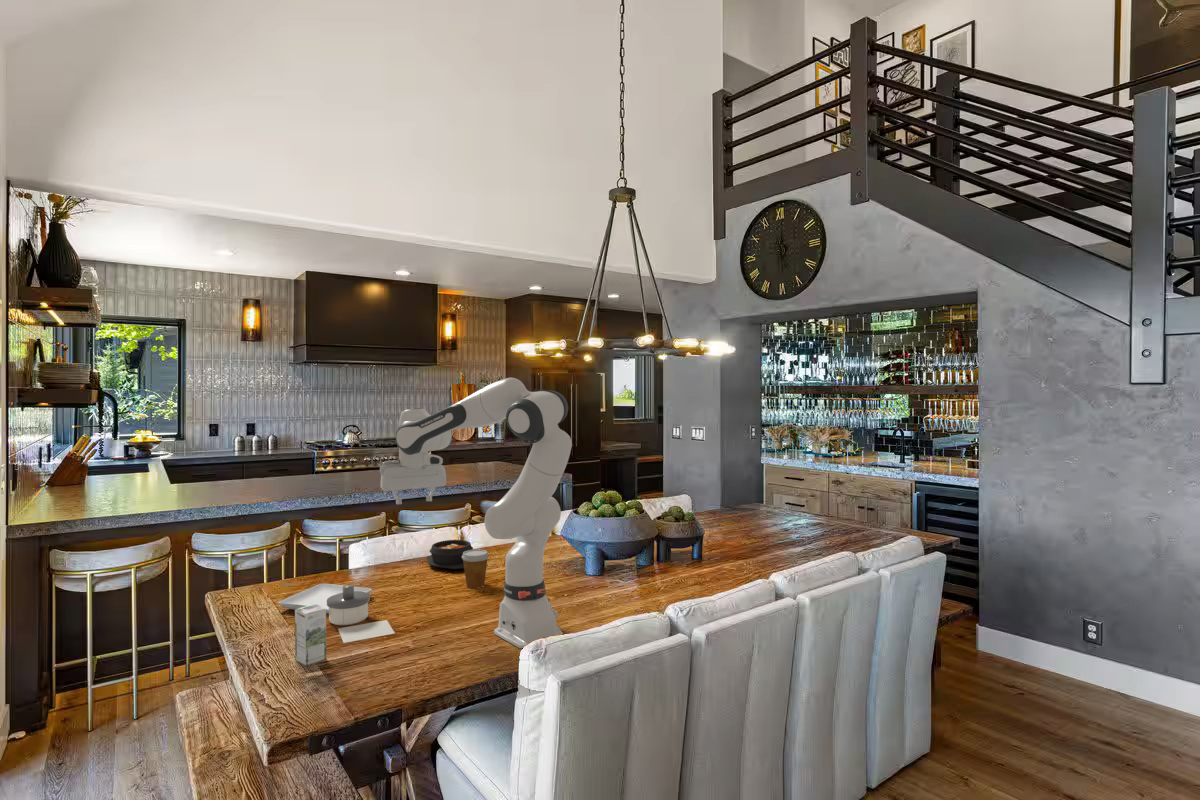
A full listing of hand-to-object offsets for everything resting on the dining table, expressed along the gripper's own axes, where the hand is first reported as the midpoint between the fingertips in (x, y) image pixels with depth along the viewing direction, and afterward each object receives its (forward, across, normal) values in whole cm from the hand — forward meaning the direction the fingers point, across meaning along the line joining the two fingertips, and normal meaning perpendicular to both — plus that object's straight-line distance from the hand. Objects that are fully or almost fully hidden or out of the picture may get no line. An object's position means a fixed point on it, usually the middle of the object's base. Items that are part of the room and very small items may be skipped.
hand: (414, 502), depth 210 cm
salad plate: (+36, -24, +22) cm, 48 cm away
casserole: (+35, +25, +46) cm, 63 cm away
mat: (+35, -17, -11) cm, 40 cm away
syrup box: (+35, -33, -24) cm, 54 cm away
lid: (+29, -20, +2) cm, 35 cm away
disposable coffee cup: (+35, +25, +16) cm, 46 cm away
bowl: (+35, -20, +2) cm, 40 cm away
